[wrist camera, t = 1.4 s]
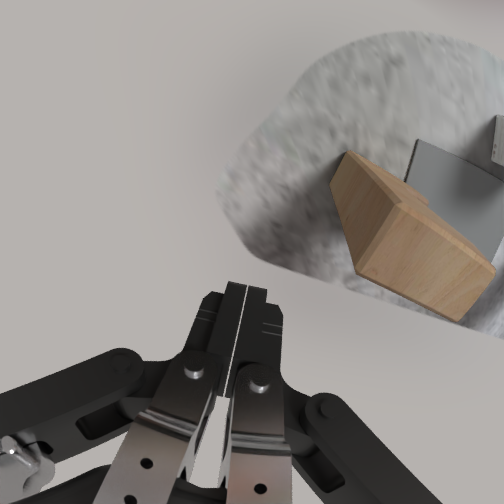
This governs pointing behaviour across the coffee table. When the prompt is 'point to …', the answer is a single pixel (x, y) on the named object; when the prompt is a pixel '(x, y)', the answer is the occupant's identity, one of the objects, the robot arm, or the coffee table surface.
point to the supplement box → (498, 141)
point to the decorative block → (406, 241)
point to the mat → (460, 195)
